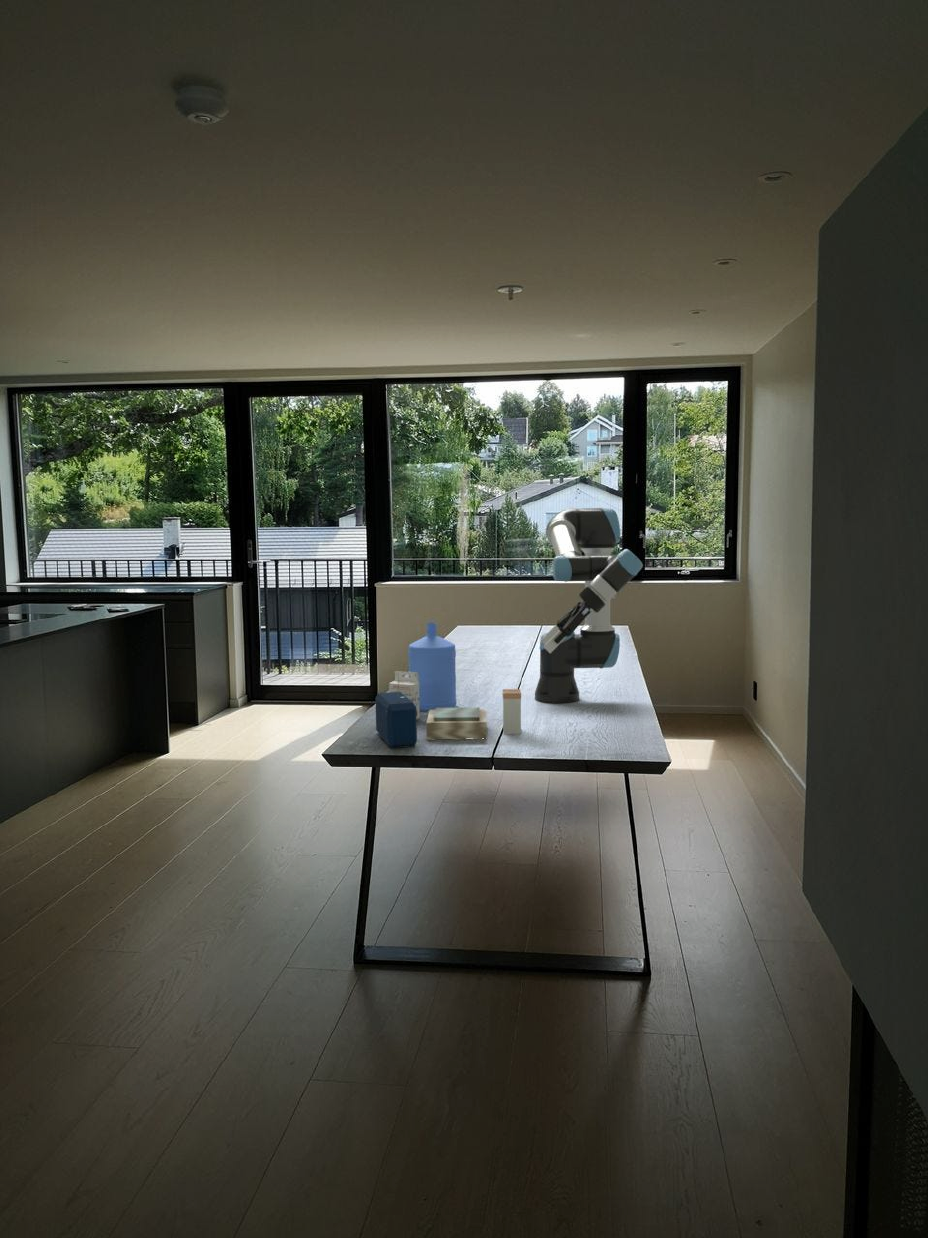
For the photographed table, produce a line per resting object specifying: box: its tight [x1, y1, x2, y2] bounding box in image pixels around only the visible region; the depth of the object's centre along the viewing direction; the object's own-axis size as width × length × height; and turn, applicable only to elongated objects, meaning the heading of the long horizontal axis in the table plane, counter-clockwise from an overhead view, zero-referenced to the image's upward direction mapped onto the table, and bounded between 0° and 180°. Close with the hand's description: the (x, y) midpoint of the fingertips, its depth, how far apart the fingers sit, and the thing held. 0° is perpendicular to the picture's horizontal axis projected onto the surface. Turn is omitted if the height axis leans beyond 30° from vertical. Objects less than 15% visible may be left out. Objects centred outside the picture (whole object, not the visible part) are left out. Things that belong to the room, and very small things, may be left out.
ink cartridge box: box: [388, 670, 420, 720], centre depth 287 cm, size 9×5×15 cm, turn 71°
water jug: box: [407, 622, 457, 713], centre depth 303 cm, size 16×16×28 cm
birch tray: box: [425, 706, 488, 741], centre depth 269 cm, size 17×17×6 cm
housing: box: [502, 688, 522, 735], centre depth 270 cm, size 5×6×12 cm
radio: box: [374, 679, 418, 749], centre depth 261 cm, size 21×9×20 cm, turn 17°
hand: (544, 647), depth 267 cm, fingers open, 13 cm apart
